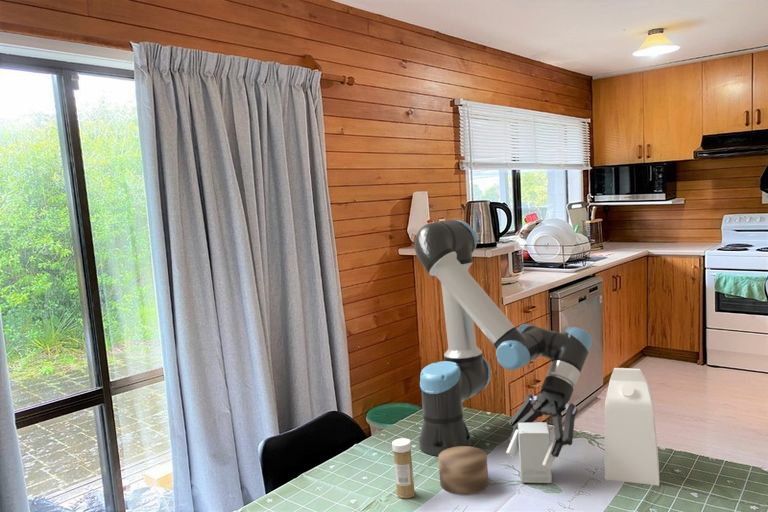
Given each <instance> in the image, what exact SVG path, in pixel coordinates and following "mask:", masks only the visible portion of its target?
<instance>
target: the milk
mask: <svg viewBox="0 0 768 512" xmlns="http://www.w3.org/2000/svg"><path fill="white" fill-rule="evenodd" d="M605 396H606V397H605V401H604V480H608V481H617V482H627V483H633V484H642V485H651V486H659V487H660V463H659V462H660V461H659V451H658V441H657V439H658V438H657V430H656V429H657V428H656V418H655V405H654V397H653V391H652V389H651V387H650V385H649V382H648V381H647V379H646V377H645V375H644V373H643V371H642V370H641V368H629V367H627V368H626V367H614V368H613V370H612V373H611V376H610V379H609V383H608V387H607V391H606V395H605Z"/></svg>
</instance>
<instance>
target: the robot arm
mask: <svg viewBox="0 0 768 512" xmlns="http://www.w3.org/2000/svg"><path fill="white" fill-rule="evenodd" d="M477 244H478V239H477V234H476V231H475V230H474V228H473V227H472V226H471V225H470V224H469V223H467V222H465V221H463V220H459V219H450V220H443V221H436V222H435V221H433V222H429V223H426V224H425V225H423V226H422V227H420V229H418V231H417V233H416V236H415V238H414V244H413V245H414V251H415V255H416V256H417V259H418V260H419V262H420V264H421V265H422V266H423V268H424V270H425V271H426V272H427V273H428V274H429V275H430V276H433V277H434V276H435V277H436V278H437V280H439V282H440V283H441V284H440V285H441V291H442V292H441V293H442V294H441V295H442V301H443V303H442V304H443V310H444V311H443V313H444V320H445V329H446V337H447V338H446V339H447V350H446V351H445V352H444V354H443V356H444V361H443V360H442V361H437V362H432V363H430V364H428V365H426V366H424V367H423V368H422V369H421V372H420V377H419V378H420V379H419V387H420V395H421V408H422V409H421V410H422V418H423V419H422V425H421V430H420V433H419V437H418V446H419V449H420V451H422V452H423V453H425V454H428V455H431V456H435V457H436V456H437V457H438V456H439V454H440V453H441V452H442V451H444V450H446V449H448V448H452V447H458V446H470V447H472V436H471V433H470V431H469V428H468V425H467V423H466V422H465V418H464V406H463V402H465V401H467V400H468V399H470V398H472V397H474V396H476V395H478V394H480V393H482V392H483V390H484V389H486V388H487V386H488V385H489V383H490V381H491V377H492V369H491V367H490V363H489V362H488V361H487V360H486V358H485V357H484V356H483V351H482V349H480V348H479V346H477V339H476V338H477V337H476V331H475V324H476V326H477V328H479V329H480V330H481V332H482V333H483V334H484V335H485V337H486V338H487V339H488V340H489V342H490V343H492V345H493V347H495V349H496V351H495V357H496V359H497V362H498V364H499V365H500V366H501V367H502V368H504V369H506V370H508V371H514V370H518V369H521V368H523V367H525V366H527V365H528V364H530V362H532V361H534V360H536V359H538V358H539V357H543V358H546V359H550V360H552V361H551V364H550V366H549V368H548V371H547V374H546V377H545V378H544V380H543V382H542V385H541V387H540V392H539V394H537V396H536V395H533V394H532V393H528V394H526V397H525V400H524V401H523V403H522V404H521V405H520V407H519V408H518V410H517V411H516V412H515V414H514V415H513V416H512V418H511V419H510V420H509V422H508V425H509V426H511V428H513V430H512V432H511V434H510V437H509V442H510V443H509V444H508V447H507V449H506V451H505V453H506V454H507V455H508V456H509V457H510V458H512V459H514V458H515V456H516V453H517V451H518V450H519V438H518V423H531V422H535V421H536V420H537V419H538V418H539V417H540V418H541V417H542V416H549V417H552V421H553V428H554V429H553V431H554V439H551V442H550V446H549V448H548V451H547V453H546V456H545V458H544V461H543V463H542V465H543V466H544V467H545V468H546V469H547V470H550V469H551V470H552V466H553V463H554V461H555V458H558V457H559V456H560V453H561V451H562V450H563V449H562V448H563V446H566V445H567V446H572V444H573V440H574V428H575V420H576V419H575V418H576V416H577V413H578V407H577V406H575V404H574V403H572V402H570V400H571V397H572V395H573V393H574V388H575V387H576V385H577V383H578V380H579V377H580V375H581V372H582V370H583V367H584V365H585V364H586V360H587V358H588V356H589V354H590V351H591V350H590V349H591V347H592V343H593V338H592V336H591V335H590V333H589V332H588V331H586V329H585V330H584V329H582V328H580V327H576V326H569V327H567V328H566V329H565V330H564V332H563V333H562V332H557V331H554V330H550V329H547V328H542V327H540V326H537V325H534V324H527V323H523V324H521V325H519V327H518V328H517V327H516V326H515V325H514V324H513V322H511V320H510V319H509V318H508V317H507V316H506V315H505V313H504V312H503V311H502V310H501V308H499V306H498V305H497V304H496V303H495V302H494V301H493V299H492V298H491V297H490V296H489V295H488V294H487V292H486V291H485V290H484V289H483V287H481V286H480V284H479V283H478V282H477V281H476V280H475V279H474V277H473V276H472V275H471V273H469V269H470V267H471V266H472V265H473V253H474V251H475V250H476V248H477ZM569 402H570V403H569ZM564 411H566V412H565V419H564V420H565V421H564V428H563V422H562V421H563V416H562V413H563V412H564Z"/></svg>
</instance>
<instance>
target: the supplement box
mask: <svg viewBox="0 0 768 512" xmlns="http://www.w3.org/2000/svg"><path fill="white" fill-rule="evenodd" d="M518 438H519V446H518V453H519V469H520V471H519V472H520V479H521V483H529V484H530V483H531V484H552V482H553V480H552V468H551V469H550V470H547V469H546V468H545V467H544V466H543V465H542V463H543V461H544V458H545V456H546V453H547V451H548V448H549V446H550V443H551V442H550V429H549V426H548V422H545V421H544V422H541V421H540V422H538V421H537V422H535V421H534V422H531V423H518Z"/></svg>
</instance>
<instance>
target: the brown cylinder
mask: <svg viewBox="0 0 768 512" xmlns="http://www.w3.org/2000/svg"><path fill="white" fill-rule="evenodd" d="M487 456H488V455H487V453H486V452H485V450H483V449H481V448H478V447H476V446H471V447H470V446H458V447H452V448H448V449H446V450H444V451H442V452H441V453H440V454H439V456H437V458H438V471H439V472H438V473H439V484H440V487H441V488H442V490H444V491H446V492H448V493H450V494H455V495H462V496H463V495H465V496H466V495H474V494H478V493H480V492H483V491H484V490H486V489H487V487H488V486H489V485H490V484H489V471H488V457H487Z"/></svg>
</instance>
